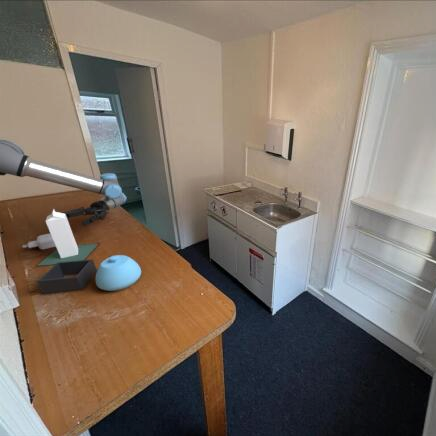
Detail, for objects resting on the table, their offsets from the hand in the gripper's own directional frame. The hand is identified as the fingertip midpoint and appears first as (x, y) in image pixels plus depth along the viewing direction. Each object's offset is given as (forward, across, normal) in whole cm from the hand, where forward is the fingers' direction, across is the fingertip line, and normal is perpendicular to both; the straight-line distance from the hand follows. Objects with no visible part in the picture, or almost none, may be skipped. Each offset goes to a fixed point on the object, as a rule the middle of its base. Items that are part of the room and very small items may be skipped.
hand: (68, 223), depth 108 cm
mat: (+5, 0, -14) cm, 15 cm away
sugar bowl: (+21, -35, -14) cm, 43 cm away
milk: (+5, 0, -14) cm, 15 cm away
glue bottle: (-2, +17, -14) cm, 22 cm away
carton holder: (+23, -16, -14) cm, 32 cm away
